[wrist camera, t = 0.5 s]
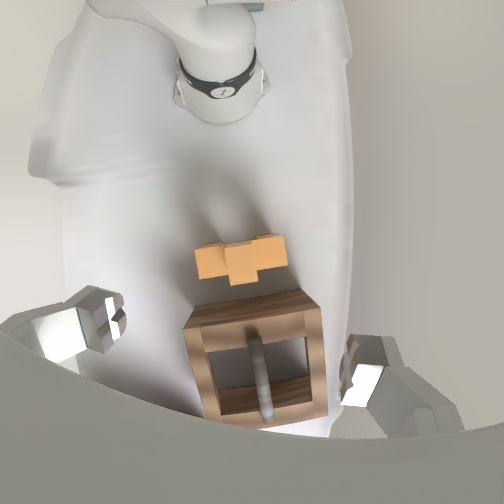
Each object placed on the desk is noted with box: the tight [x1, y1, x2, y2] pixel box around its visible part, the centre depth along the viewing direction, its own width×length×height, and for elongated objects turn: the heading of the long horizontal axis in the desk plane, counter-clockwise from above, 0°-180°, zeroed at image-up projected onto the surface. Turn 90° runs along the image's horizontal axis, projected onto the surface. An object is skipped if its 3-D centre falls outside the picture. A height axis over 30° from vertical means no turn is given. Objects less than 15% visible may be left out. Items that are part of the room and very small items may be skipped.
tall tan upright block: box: [194, 234, 288, 286], centre depth 41 cm, size 4×12×22 cm, turn 99°
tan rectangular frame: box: [183, 290, 328, 429], centre depth 47 cm, size 20×20×15 cm
